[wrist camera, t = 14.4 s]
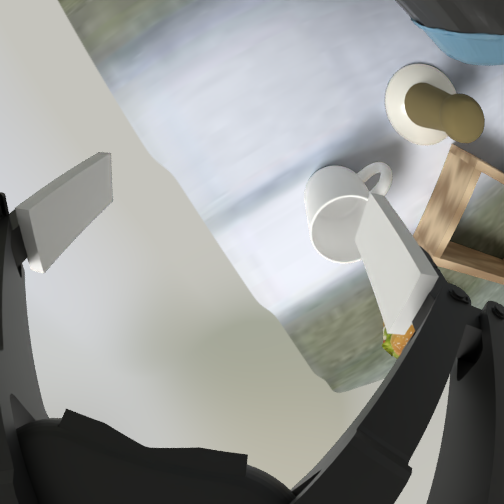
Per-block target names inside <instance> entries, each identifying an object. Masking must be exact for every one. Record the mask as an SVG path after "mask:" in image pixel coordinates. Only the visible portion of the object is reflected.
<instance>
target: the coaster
mask: <svg viewBox="0 0 504 504" xmlns="http://www.w3.org/2000/svg"><path fill="white" fill-rule="evenodd" d="M417 83H428V84H430V85H433V86H435V87H437V88H439V89H441V90H443V91H445V92H447V93H449V94H451V95H453V94H457V93H456V91H455V88H454V86H453V85H452V83H451V81H450V80H449V79H448V78H447V77H446V76H445V74H443V73H442V72H441V71H440V70H438V69H436V68H434V67H432V66H429V65H426V64H411V65H407V66H405V67H403V68H401V69H399V70H398V71H397V72H396V73H395V74H394V75H393V76H392V78H391V79H390V81H389V83H388V85H387V88H386V92H385V109H386V113H387V116H388V119H389V121H390V123H391V125H392V126H393V128H394V129H395V130H396V131H397V133H398V134H400V135H401V136H402V137H403V138H405V139H406V140H408V141H410V142H412V143H414V144H417V145H425V146H427V145H433V144H437V143H439V142H441V141H443V140H444V139H445V138H447V137H448V135H447V134H446V133H445V132H444V131H439V130H434V129H429V128H424V127H421V126H418V125H416V124H415V123H413V122H412V121H411V120H410V118H409V117H408V116H407V113H406V110H405V104H404V100H405V96H406V93H407V91H408V90H409V88H410V87H412V86H413V85H414V84H417Z"/></svg>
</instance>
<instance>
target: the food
mask: <svg viewBox="0 0 504 504" xmlns="http://www.w3.org/2000/svg"><path fill="white" fill-rule="evenodd" d="M383 326H384V328H383V334H384V335H383V339H384V341H383V344H382V346H383V348H384V349H385V350H386V351H387V352H388V353H389V354H390V355H391V356H394V357H395V358H396V359H398V358H399V356H400V355H401V353H402V350H403V348H404V347H405V345H406V344H407V342H408V341H409V339H410V338H411V336H412V335H413V333H414V332H415V329H414V327H413V324H411V325H410V327H409V329H408V330H407V332H406V333H405V335H400V334H387V330H386V327H385V324H384V322H383Z"/></svg>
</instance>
